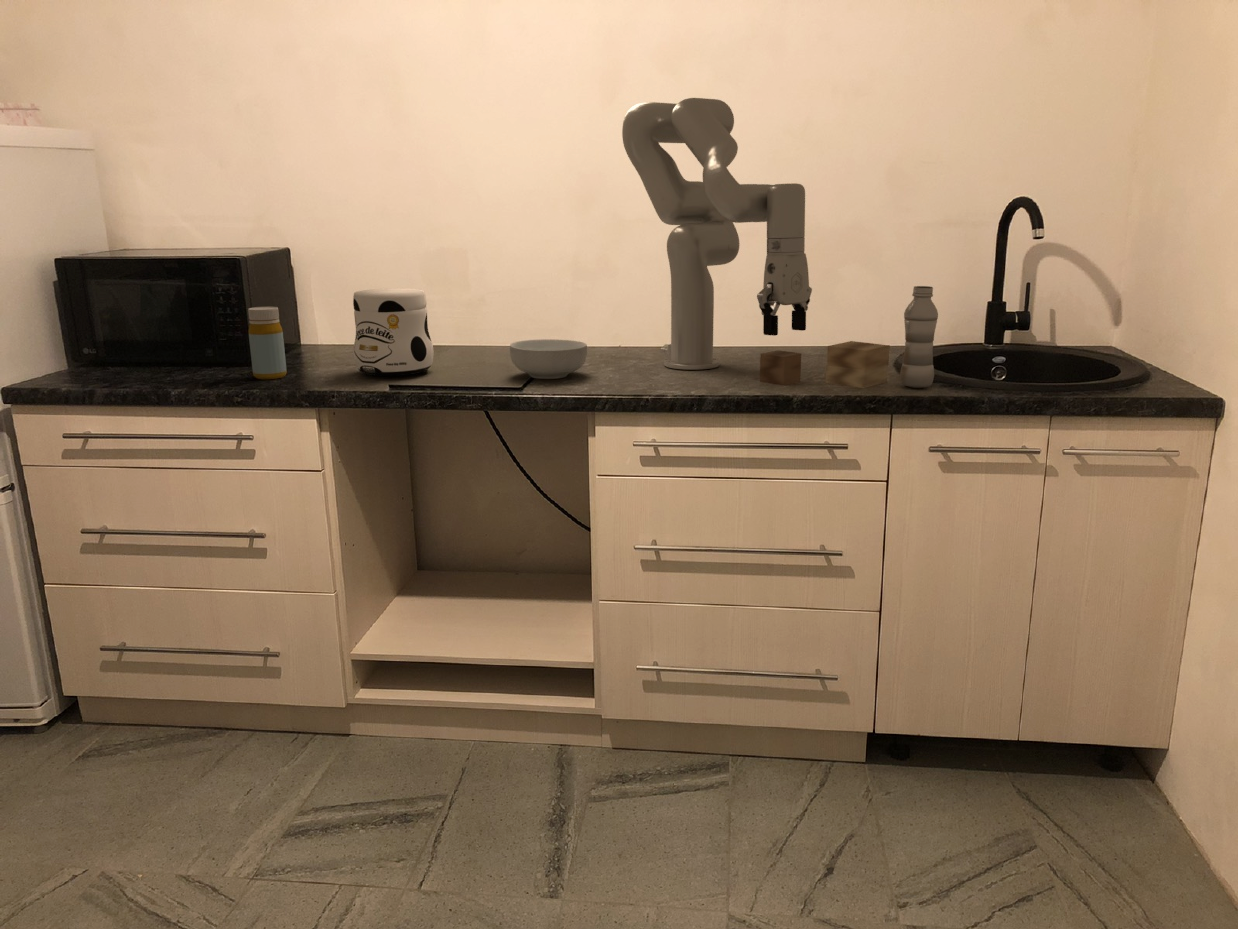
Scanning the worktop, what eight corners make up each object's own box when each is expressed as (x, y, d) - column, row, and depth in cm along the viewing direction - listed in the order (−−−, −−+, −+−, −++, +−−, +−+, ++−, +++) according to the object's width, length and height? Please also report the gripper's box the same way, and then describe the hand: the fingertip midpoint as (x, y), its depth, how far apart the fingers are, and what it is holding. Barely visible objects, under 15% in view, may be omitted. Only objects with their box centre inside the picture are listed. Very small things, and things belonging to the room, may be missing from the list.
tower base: (825, 384, 205) (826, 365, 204) (849, 378, 211) (850, 359, 210) (863, 390, 199) (864, 370, 198) (886, 383, 205) (887, 364, 204)
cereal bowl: (578, 384, 206) (577, 350, 204) (501, 382, 209) (499, 349, 207) (594, 370, 222) (594, 338, 220) (523, 368, 225) (521, 337, 223)
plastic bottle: (916, 391, 195) (923, 289, 189) (892, 386, 200) (898, 286, 195) (940, 388, 197) (948, 287, 192) (916, 383, 203) (923, 284, 198)
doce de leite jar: (351, 382, 211) (343, 296, 206) (359, 368, 227) (352, 288, 222) (433, 379, 213) (428, 294, 208) (435, 365, 230) (431, 287, 225)
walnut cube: (759, 382, 206) (760, 353, 205) (776, 378, 211) (777, 350, 209) (783, 385, 202) (784, 356, 201) (800, 381, 206) (801, 353, 205)
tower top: (827, 365, 204) (827, 345, 203) (850, 359, 210) (851, 340, 209) (865, 370, 198) (866, 350, 197) (888, 364, 204) (889, 345, 203)
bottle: (293, 374, 219) (286, 306, 215) (273, 380, 213) (266, 310, 209) (267, 373, 222) (260, 305, 218) (246, 378, 215) (238, 309, 211)
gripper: (775, 249, 190) (774, 338, 195) (825, 245, 202) (824, 329, 206) (744, 249, 196) (744, 335, 200) (795, 245, 207) (794, 327, 212)
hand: (784, 332), depth 203 cm, fingers open, 9 cm apart
